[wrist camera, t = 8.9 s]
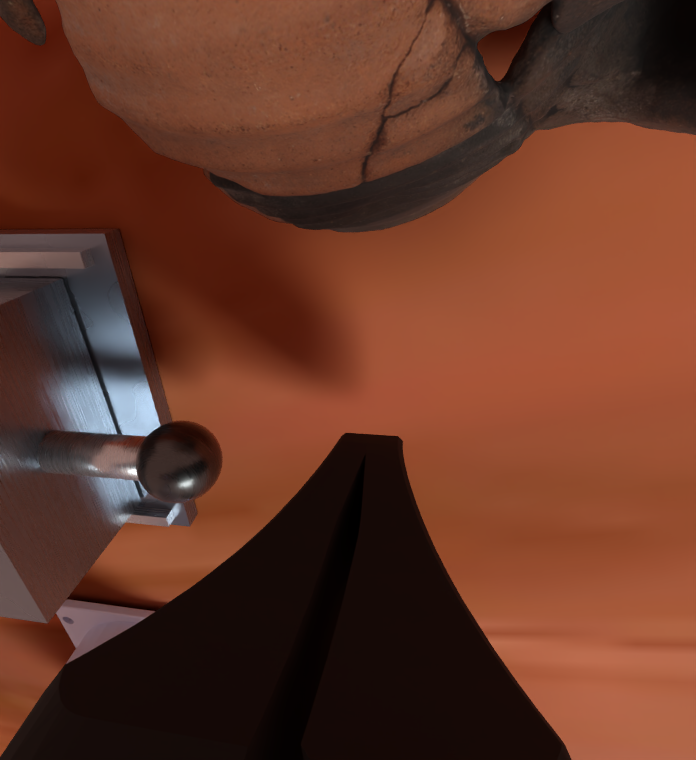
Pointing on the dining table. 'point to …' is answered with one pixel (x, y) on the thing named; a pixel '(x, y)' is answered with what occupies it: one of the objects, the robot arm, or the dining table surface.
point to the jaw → (71, 454)
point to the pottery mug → (368, 90)
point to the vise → (104, 332)
